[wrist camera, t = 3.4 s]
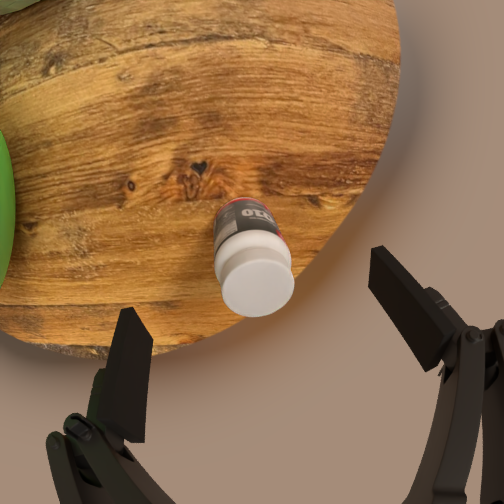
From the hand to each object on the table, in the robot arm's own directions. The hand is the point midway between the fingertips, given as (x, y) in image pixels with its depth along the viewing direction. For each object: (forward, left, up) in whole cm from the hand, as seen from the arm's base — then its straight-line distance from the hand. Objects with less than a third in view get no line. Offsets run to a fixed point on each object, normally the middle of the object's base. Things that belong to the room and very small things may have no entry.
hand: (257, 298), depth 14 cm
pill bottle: (0, 0, -9) cm, 9 cm away
